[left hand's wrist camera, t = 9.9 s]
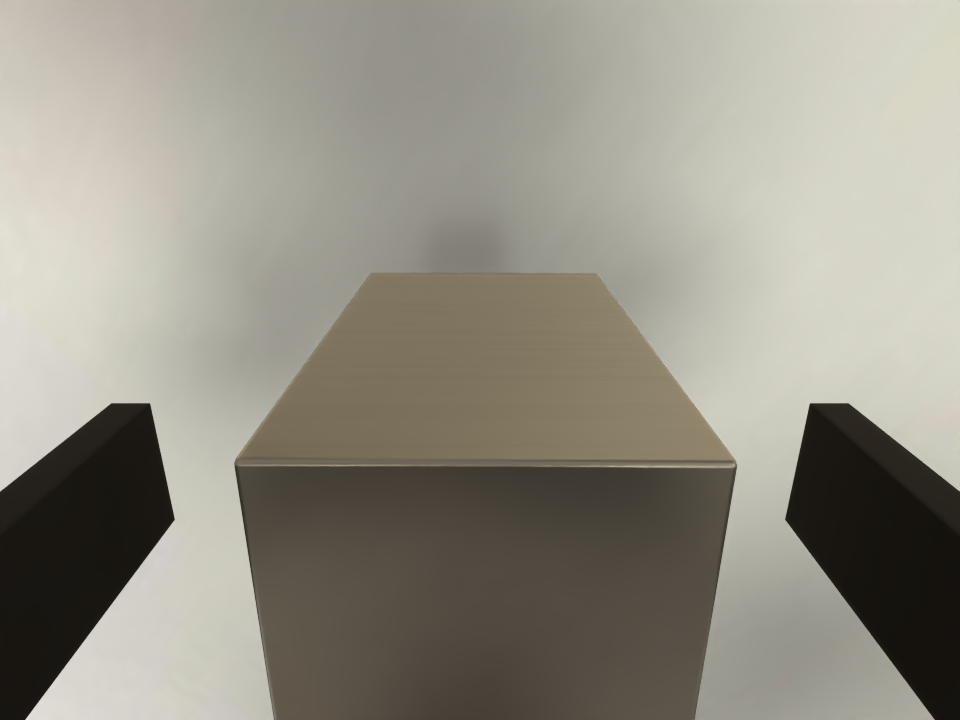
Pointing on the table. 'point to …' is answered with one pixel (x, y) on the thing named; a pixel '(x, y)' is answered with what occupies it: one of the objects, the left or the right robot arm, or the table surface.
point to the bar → (484, 511)
